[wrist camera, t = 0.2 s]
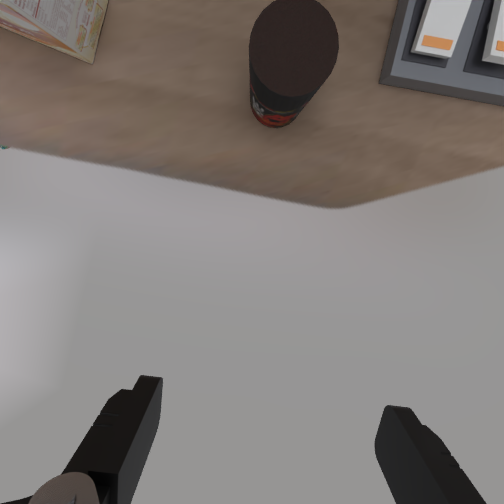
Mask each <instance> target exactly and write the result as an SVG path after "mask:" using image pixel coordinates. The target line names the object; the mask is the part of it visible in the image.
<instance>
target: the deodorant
mask: <svg viewBox="0 0 504 504" xmlns="http://www.w3.org/2000/svg"><path fill="white" fill-rule="evenodd" d="M338 50H339V42H338V33H337V29H336V25H335V22H334V21H333V19H332V17H331V15H330V14H329V12H328V11H327V10H326V9H325V8H324V7H323V6H322V5H321V4H320V3H319V2H317V1H315V0H276V1H273V2H272V3H271V4H270V5H269V6H267V7H266V8H265V9H264V10H263V11H262V12H261V14H260V15H259V17H258V18H257V20H256V21H255V24H254V26H253V29H252V32H251V36H250V43H249V67H250V102H251V108H252V111H253V114H254V115H255V117H256V118H257V120H259V121H260V122H261V123H262V124H264V125H266V126H268V127H273V128H278V127H283V126H286V125H288V124H289V123H291V122H292V121H293V120H294V119H295V118H296V117H297V116H298V114H299V113H300V112H301V111H302V109H303V108H304V107H305V106H306V104H307V103H308V102H309V101H310V99H311V98H312V97H313V96H314V94H315V93H316V92H317V91H318V89H319V88H320V87H321V86H322V84H323V83H324V82H325V80H326V79H327V78H328V77H329V75H330V74H331V72H332V70H333V68H334V65H335V63H336V60H337V55H338Z"/></svg>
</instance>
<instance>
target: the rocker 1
mask: <svg viewBox="0 0 504 504" xmlns="http://www.w3.org/2000/svg"><path fill="white" fill-rule="evenodd" d="M471 1H472V0H427V2H426V5H425V8H424V11H423V15H422V18H421V21H420V24H419V27H418V30H417V33H416V37H415V40H414V43H413V46H412V49H411V52H412V53H417V54H422V55H428V56H433V57H438V58H444V59H447V58H450V57H451V56H452V53H453V51H454V48H455V45H456V42H457V40H458V37H459V34H460V32H461V29H462V26H463V23H464V21H465V18H466V15H467V12H468V10H469V7H470V4H471Z"/></svg>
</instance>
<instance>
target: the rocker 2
mask: <svg viewBox="0 0 504 504" xmlns="http://www.w3.org/2000/svg"><path fill="white" fill-rule="evenodd" d="M487 30H488V34H487V39H486V43H485V48H484V53H483V58H482V61H487V62H492V63H497V64H503V65H504V0H494V5H493V10H492V14H491V19H490V22H489V23H488V25H487Z"/></svg>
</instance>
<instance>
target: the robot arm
mask: <svg viewBox="0 0 504 504" xmlns="http://www.w3.org/2000/svg"><path fill="white" fill-rule="evenodd" d="M162 387H163V378H161V377H153V376H144V375H141V376H140V377H139V379H138V381H137V382H136V384H135V386H134V388H133V390H126V389H121V390H120V391H119V392H117V393H116V394H115V395H113V396H112V397H111V398H110V399H108V401H107V403H106V404H105V406H104V407H103V409H102V410H101V413H100V415H98V417H97V419H96V420H95V422H94V423H93V426H91V428H90V430H89V431H88V433H87V434H86V436H85V438H84V439H83V441H82V442H81V444H80V446H79V447H78V449H77V450H76V452H75V453H74V455H73V457H72V458H71V460H70V462H69V463H68V465H67V466H66V468H65V469H64V471H63V472H62V474H61V475H59V476H57V477H55V478H53V479H51V480H49V481H48V482H46V483H45V484H44V485H42V486H41V487H40V488H39V489H38V490H37V492H36V493H35V494H34V495H32V496H30V497H27V498H23V499H20V500H15V501H11V502H6V503H1V504H131V501H132V498H133V495H134V493H135V490H136V487H137V484H138V481H139V479H140V476H141V473H142V470H143V468H144V465H145V462H146V460H147V457H148V454H149V452H150V449H151V446H152V443H153V441H154V438H155V435H156V432H157V429H158V425H159V420H160V412H161V399H162ZM375 454H376V458H377V460H378V463H379V465H380V467H381V470H382V472H383V474H384V477H385V479H386V481H387V484H388V486H389V488H390V490H391V493H392V495H393V497H394V499H395V502H396V504H486V502H485V501H484V500H483V498H482V497H481V495H480V494H479V493H478V491H477V490H476V488H475V487H474V485H473V484H472V483H471V481H470V480H469V478H468V477H467V476H466V474H465V473H464V471H463V470H462V469H460V467H459V464H458V463H457V461H456V460H455V459H454V457H453V456H451V453H450V451H449V450H448V449H447V447H446V446H445V444H444V443H443V441H442V440H441V439H440V438H439V437H438V436H437V435H436V434H435V433H434V432H433V431H431V430H430V429H429V428H428V427H427V426H426V425H422V424H421V423H420V421H419V420H418V418H417V417H416V415H415V414H414V412H413V411H412V410H411V409H410V408H408V407H400V406H391V405H387V406H386V407H385V408H384V411H383V414H382V418H381V422H380V425H379V428H378V431H377V435H376V438H375Z"/></svg>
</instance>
